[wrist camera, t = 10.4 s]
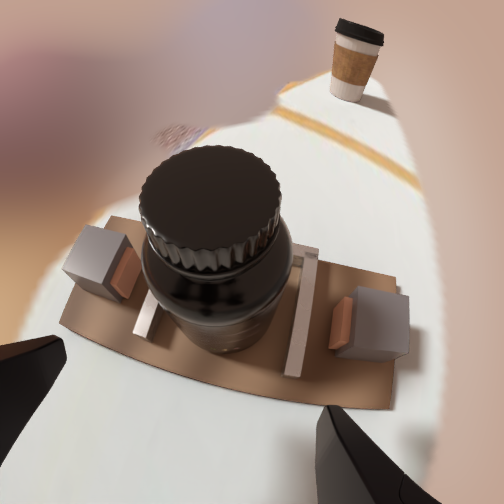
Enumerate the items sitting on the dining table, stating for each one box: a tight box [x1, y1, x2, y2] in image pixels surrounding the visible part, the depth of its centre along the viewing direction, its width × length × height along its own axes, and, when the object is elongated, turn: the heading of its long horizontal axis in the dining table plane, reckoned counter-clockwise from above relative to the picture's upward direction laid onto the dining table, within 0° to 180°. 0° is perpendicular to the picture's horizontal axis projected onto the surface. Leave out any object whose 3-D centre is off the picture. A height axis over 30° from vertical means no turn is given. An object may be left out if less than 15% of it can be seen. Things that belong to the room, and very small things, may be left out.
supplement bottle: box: [139, 145, 293, 354], centre depth 14 cm, size 7×7×12 cm
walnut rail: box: [59, 216, 409, 409], centre depth 18 cm, size 26×11×5 cm, turn 77°
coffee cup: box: [330, 18, 384, 102], centre depth 35 cm, size 8×8×15 cm
